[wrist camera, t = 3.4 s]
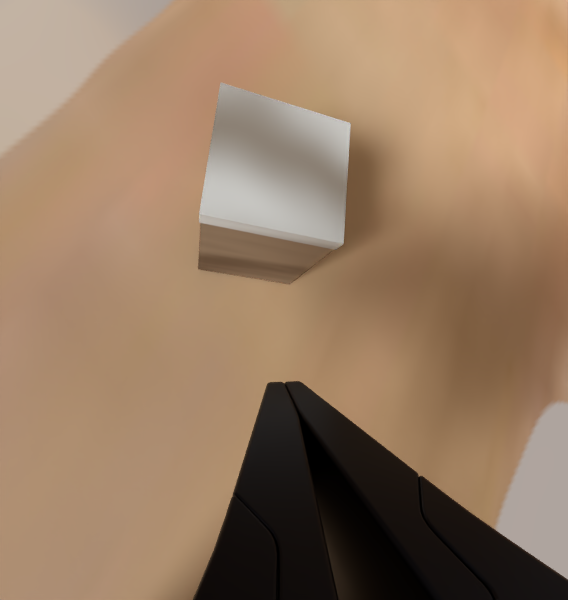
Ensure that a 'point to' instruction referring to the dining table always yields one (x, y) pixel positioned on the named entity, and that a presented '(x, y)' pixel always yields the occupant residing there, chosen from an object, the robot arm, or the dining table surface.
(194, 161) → the dining table surface
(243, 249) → the polished metal block
